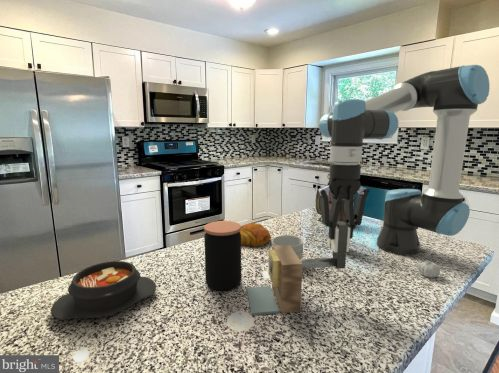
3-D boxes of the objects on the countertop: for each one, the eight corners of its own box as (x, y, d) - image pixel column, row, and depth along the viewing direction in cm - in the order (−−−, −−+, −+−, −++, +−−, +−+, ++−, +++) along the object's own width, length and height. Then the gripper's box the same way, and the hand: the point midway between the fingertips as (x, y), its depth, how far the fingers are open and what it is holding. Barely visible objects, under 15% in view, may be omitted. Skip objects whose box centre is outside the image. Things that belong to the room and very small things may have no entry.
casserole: (48, 340, 63) (43, 305, 62) (54, 298, 79) (50, 269, 77) (163, 306, 76) (162, 276, 74) (149, 275, 91) (147, 250, 90)
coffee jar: (246, 278, 90) (246, 222, 87) (233, 296, 80) (232, 234, 77) (215, 272, 93) (214, 219, 90) (199, 289, 83) (197, 230, 80)
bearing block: (288, 286, 85) (290, 244, 82) (300, 311, 73) (302, 263, 71) (272, 287, 84) (272, 245, 82) (281, 312, 73) (282, 264, 70)
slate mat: (270, 287, 84) (270, 285, 84) (279, 313, 73) (279, 310, 73) (246, 289, 84) (246, 287, 83) (251, 315, 72) (251, 312, 72)
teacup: (302, 270, 95) (303, 247, 94) (269, 266, 97) (269, 244, 96) (303, 252, 109) (303, 232, 107) (274, 250, 111) (274, 230, 109)
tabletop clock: (314, 220, 147) (316, 172, 142) (322, 216, 154) (325, 170, 149) (342, 227, 138) (345, 175, 133) (349, 222, 145) (352, 173, 140)
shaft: (340, 263, 80) (343, 221, 78) (345, 268, 78) (348, 224, 75) (268, 267, 78) (269, 223, 76) (271, 272, 75) (271, 227, 73)
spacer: (274, 273, 81) (274, 249, 80) (279, 286, 74) (279, 260, 73) (268, 273, 81) (268, 249, 79) (273, 286, 74) (273, 261, 72)
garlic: (419, 278, 90) (421, 262, 89) (416, 270, 95) (418, 255, 94) (441, 281, 88) (444, 265, 87) (437, 273, 93) (439, 258, 92)
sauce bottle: (348, 247, 113) (352, 198, 109) (340, 252, 109) (343, 201, 105) (333, 243, 118) (336, 195, 114) (325, 247, 113) (328, 198, 110)
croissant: (228, 245, 122) (226, 227, 119) (255, 231, 131) (253, 215, 129) (251, 255, 111) (249, 236, 109) (279, 240, 121) (277, 222, 118)
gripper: (321, 165, 69) (316, 257, 73) (382, 164, 71) (374, 254, 75) (311, 161, 76) (307, 245, 81) (366, 161, 78) (360, 243, 82)
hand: (339, 249), depth 78 cm, fingers closed on shaft, 2 cm apart
